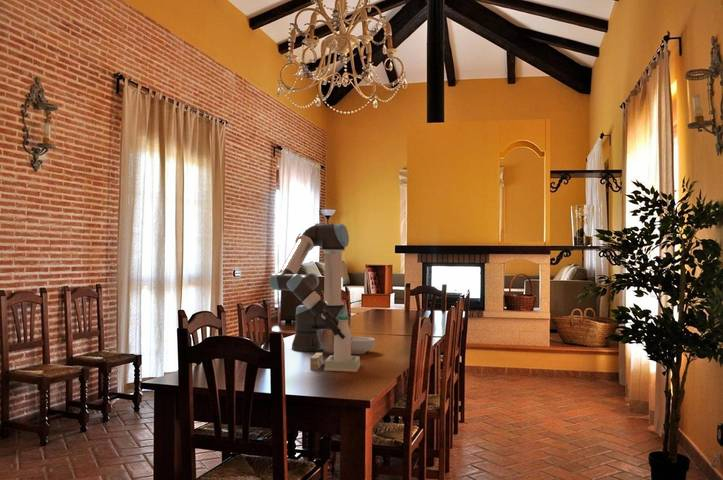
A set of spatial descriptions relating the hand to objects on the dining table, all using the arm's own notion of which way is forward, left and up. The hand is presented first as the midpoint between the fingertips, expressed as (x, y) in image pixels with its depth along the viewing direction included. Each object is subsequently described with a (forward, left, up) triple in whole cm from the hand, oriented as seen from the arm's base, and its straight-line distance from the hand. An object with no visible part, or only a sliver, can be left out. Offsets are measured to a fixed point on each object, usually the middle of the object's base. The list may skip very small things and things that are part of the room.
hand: (350, 342), depth 261 cm
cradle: (0, -3, -11) cm, 12 cm away
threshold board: (0, -15, -11) cm, 19 cm away
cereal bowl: (-40, -1, -12) cm, 42 cm away
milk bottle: (0, -4, -9) cm, 9 cm away
